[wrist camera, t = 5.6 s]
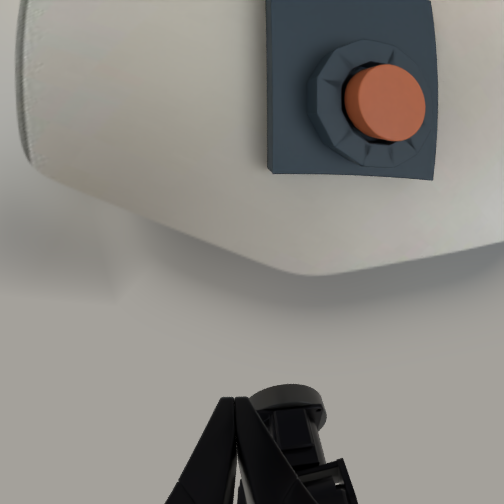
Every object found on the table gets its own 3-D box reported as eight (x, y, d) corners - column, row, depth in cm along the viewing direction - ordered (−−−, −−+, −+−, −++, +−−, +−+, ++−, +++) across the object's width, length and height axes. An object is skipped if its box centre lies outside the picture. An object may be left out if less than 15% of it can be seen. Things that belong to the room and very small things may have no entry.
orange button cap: (405, 141, 14) (424, 145, 12) (343, 135, 13) (357, 137, 12) (407, 75, 12) (425, 72, 10) (343, 63, 12) (357, 57, 10)
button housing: (414, 173, 18) (450, 187, 14) (267, 167, 17) (277, 180, 14) (413, 8, 13) (447, -6, 9) (265, -20, 12) (274, -50, 9)
